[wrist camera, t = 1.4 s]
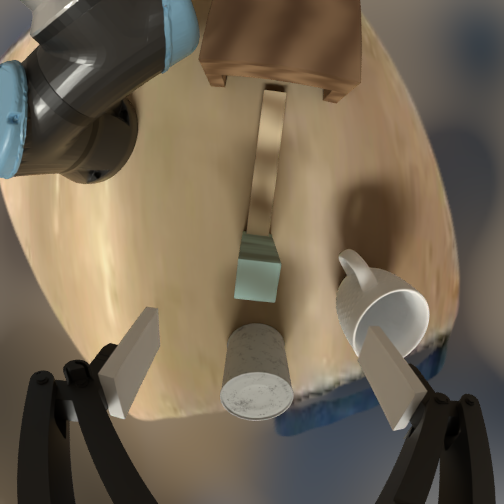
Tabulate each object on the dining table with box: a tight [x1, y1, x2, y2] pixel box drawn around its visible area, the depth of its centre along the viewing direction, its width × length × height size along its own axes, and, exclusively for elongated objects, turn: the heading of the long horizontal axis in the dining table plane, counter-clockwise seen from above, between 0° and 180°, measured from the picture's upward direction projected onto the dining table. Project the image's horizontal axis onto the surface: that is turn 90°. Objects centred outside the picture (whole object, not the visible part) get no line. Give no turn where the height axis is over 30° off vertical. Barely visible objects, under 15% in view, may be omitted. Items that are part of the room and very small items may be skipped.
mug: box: [336, 249, 429, 357], centre depth 35 cm, size 15×11×13 cm
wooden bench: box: [199, 0, 362, 103], centre depth 27 cm, size 18×14×10 cm
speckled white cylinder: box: [220, 323, 293, 421], centre depth 38 cm, size 10×10×12 cm
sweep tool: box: [234, 90, 286, 303], centre depth 30 cm, size 24×4×14 cm, turn 173°
